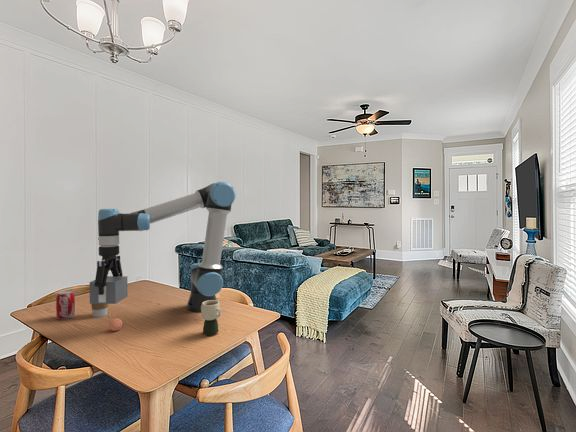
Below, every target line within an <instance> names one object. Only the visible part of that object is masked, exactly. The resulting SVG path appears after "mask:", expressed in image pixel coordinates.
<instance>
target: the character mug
mask: <svg viewBox="0 0 576 432" xmlns="http://www.w3.org/2000/svg"><path fill="white" fill-rule="evenodd" d="M220 307H221V305H220V301H219V300H208V301H204V302H203V303H202V305H201V318H202V319H203V320H204V322H203V329H202V334H203V335H206V336H212V335H214V334H217V333H219V324H218V318H221V316H222V309H221V308H220Z"/></svg>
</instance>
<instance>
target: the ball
mask: <svg viewBox="0 0 576 432" xmlns="http://www.w3.org/2000/svg"><path fill="white" fill-rule="evenodd" d="M122 326H123V321H122V319H120V318H116V317H115V318H112V319H111V320H110V321H109V323H108V329H110V331H113V332H116V331H118V330H120V329H121V328H122Z"/></svg>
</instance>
